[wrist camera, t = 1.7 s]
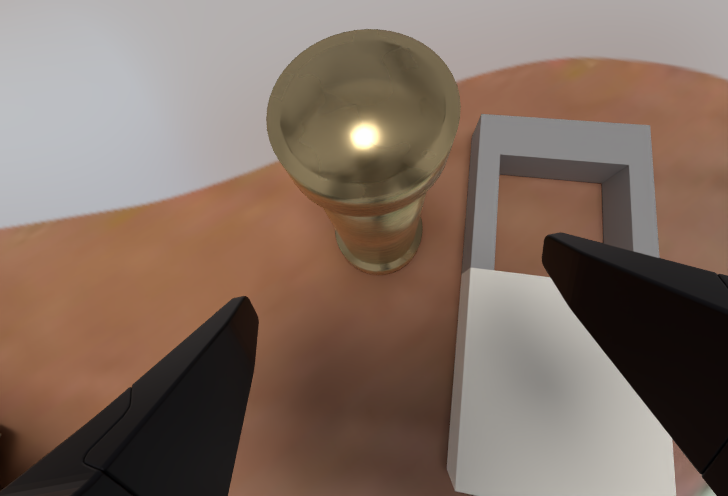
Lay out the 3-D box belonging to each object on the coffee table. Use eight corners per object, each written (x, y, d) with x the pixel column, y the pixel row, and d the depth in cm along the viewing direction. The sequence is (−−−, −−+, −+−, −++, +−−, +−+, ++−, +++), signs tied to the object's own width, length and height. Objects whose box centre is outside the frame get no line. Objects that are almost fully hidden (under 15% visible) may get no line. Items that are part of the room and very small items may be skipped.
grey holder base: (637, 507, 17) (679, 538, 14) (446, 468, 18) (454, 491, 15) (621, 147, 22) (649, 125, 19) (472, 136, 23) (481, 114, 20)
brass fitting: (435, 222, 21) (496, 75, 9) (391, 291, 21) (391, 236, 8) (367, 183, 23) (336, 4, 10) (323, 247, 22) (228, 138, 9)
